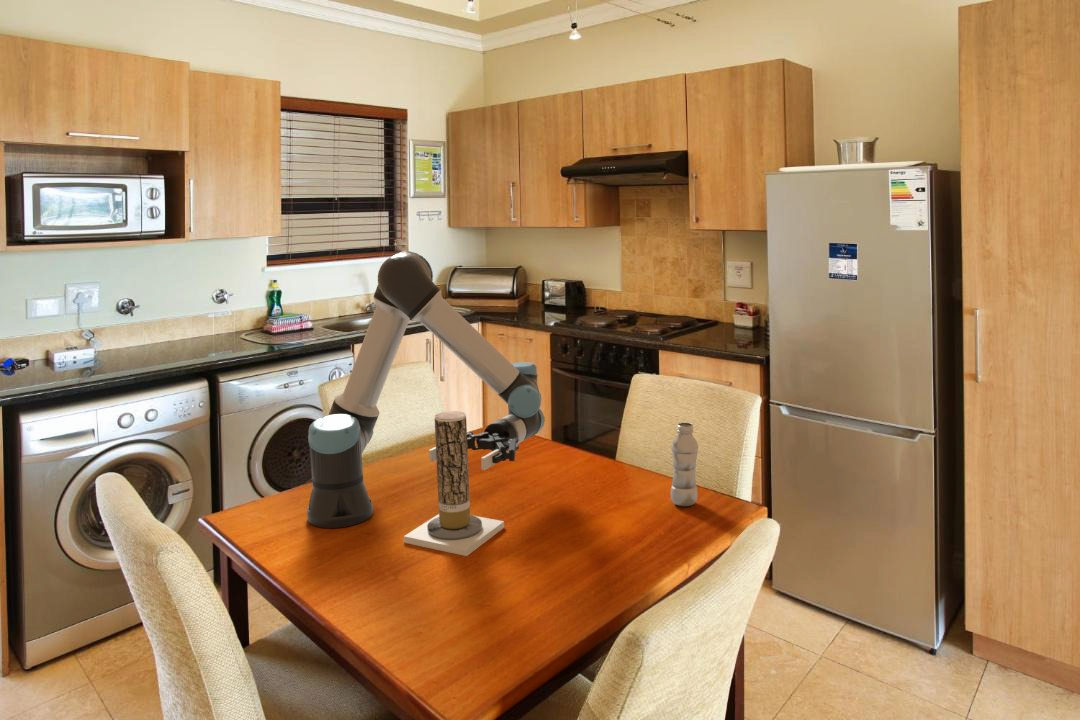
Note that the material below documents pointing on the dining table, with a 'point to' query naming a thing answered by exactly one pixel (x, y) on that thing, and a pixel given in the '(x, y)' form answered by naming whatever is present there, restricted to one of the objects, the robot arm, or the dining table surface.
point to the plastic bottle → (684, 466)
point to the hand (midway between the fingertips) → (456, 460)
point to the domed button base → (454, 535)
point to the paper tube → (452, 469)
